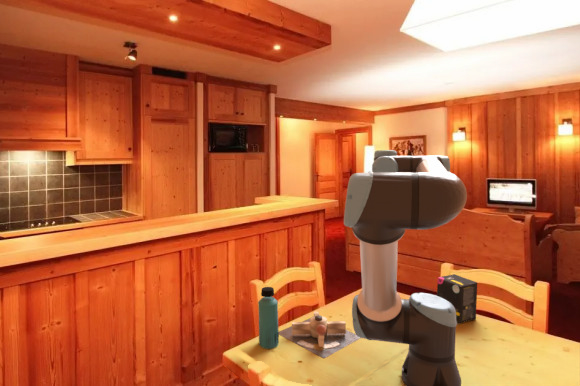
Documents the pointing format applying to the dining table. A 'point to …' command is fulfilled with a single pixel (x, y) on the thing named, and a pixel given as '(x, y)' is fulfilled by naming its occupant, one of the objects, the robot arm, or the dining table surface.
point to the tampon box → (459, 296)
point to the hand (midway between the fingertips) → (383, 264)
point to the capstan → (319, 327)
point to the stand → (311, 343)
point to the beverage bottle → (268, 319)
